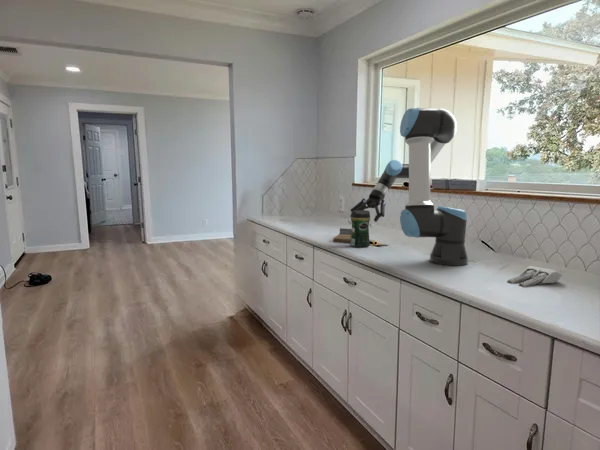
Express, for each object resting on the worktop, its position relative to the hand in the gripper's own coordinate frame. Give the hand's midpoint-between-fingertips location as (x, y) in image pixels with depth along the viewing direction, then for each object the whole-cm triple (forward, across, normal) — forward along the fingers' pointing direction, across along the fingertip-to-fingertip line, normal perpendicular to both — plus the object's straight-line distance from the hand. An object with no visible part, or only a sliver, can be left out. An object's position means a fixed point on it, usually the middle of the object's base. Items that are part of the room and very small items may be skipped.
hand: (359, 224), depth 193 cm
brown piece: (+1, +15, -15) cm, 21 cm away
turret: (+11, -81, -5) cm, 82 cm away
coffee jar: (+8, -1, -8) cm, 12 cm away
